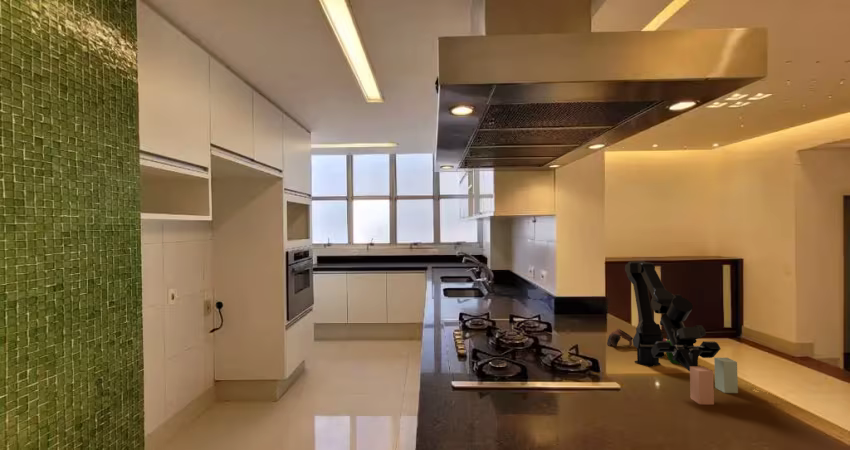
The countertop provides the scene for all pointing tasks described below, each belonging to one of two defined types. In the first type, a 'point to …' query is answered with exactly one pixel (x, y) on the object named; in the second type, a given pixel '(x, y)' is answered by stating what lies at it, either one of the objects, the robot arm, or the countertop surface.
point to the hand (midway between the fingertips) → (696, 375)
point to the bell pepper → (670, 355)
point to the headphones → (618, 337)
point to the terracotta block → (701, 385)
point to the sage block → (726, 375)
